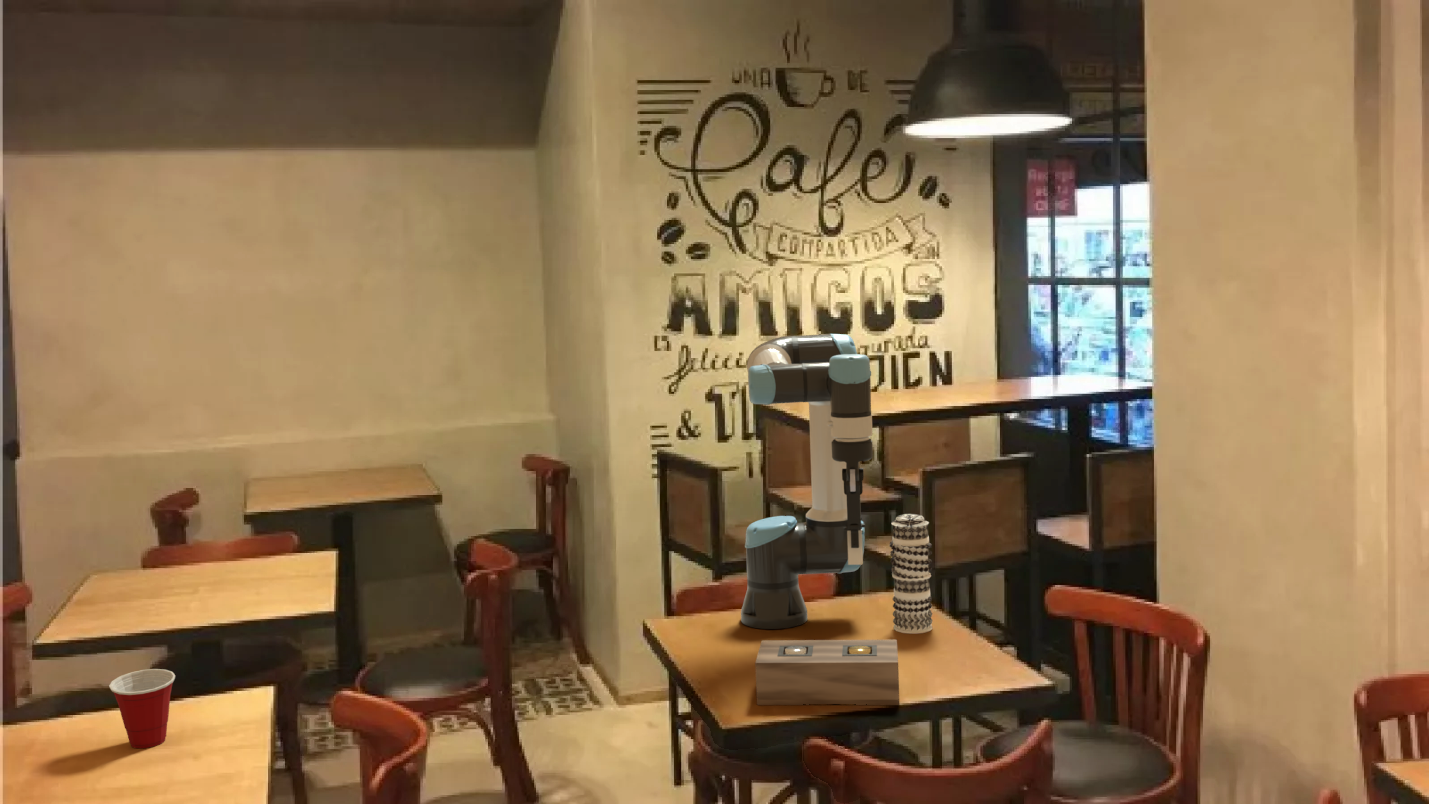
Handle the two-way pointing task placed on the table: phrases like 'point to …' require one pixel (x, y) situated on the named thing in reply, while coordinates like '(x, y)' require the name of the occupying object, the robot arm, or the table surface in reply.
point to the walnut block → (827, 673)
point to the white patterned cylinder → (911, 574)
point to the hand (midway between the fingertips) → (855, 563)
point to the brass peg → (859, 650)
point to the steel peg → (795, 650)
